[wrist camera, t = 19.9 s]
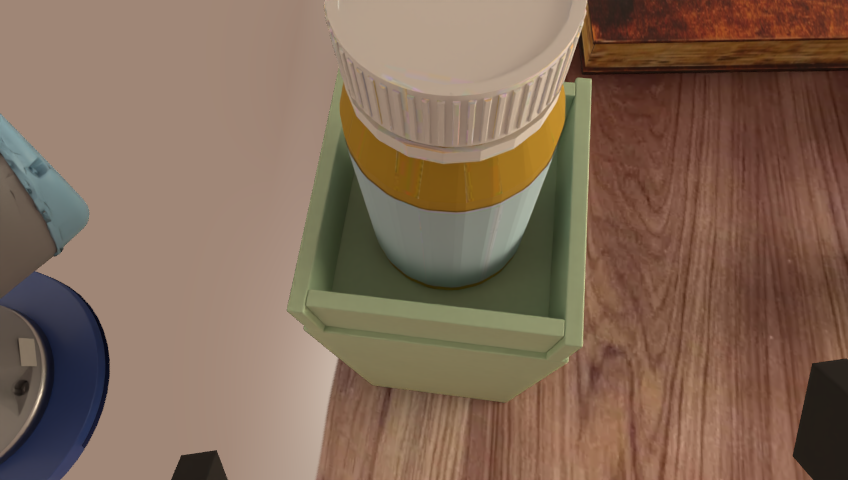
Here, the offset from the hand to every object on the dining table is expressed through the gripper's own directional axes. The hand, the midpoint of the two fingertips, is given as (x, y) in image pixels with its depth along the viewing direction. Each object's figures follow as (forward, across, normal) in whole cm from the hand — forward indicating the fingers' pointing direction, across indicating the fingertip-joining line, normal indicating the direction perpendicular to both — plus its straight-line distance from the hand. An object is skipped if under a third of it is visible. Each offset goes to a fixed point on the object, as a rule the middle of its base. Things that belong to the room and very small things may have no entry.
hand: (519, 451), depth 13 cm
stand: (+34, 0, -19) cm, 39 cm away
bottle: (+16, 0, -1) cm, 16 cm away
